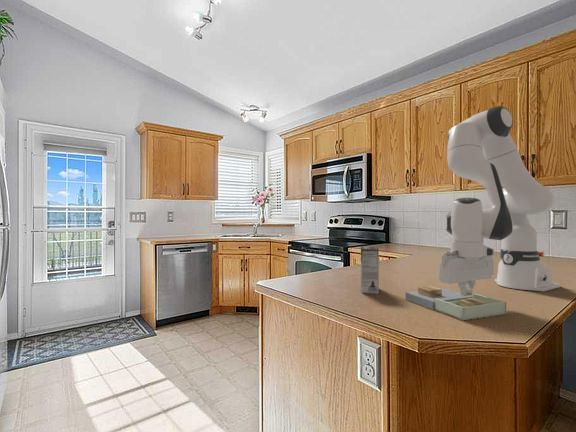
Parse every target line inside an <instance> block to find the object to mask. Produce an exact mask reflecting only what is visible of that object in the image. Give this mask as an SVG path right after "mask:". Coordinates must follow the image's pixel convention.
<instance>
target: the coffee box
mask: <svg viewBox="0 0 576 432" xmlns="http://www.w3.org/2000/svg"><path fill="white" fill-rule="evenodd" d="M378 247H379V246H360V289H361V291H360V292H361V294H375V295H377V294H378V295H379V293H380V292H379V289H380V288H379V286H380V285H379V283H380V282H379V276H380V275H379V273H380V271H379V267H380V266H379V265H380V264H379V263H380V262H379V260H380V259H379V258H380V255H379V254H380V253H379V248H378Z"/></svg>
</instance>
